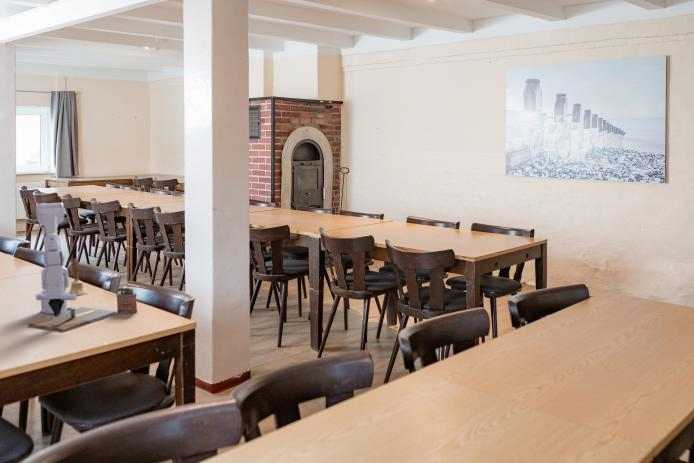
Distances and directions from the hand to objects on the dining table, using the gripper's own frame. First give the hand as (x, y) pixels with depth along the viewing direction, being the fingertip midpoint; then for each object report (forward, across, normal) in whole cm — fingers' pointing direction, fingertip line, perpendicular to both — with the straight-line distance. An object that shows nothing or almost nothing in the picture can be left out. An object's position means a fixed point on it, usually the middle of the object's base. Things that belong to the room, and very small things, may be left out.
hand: (57, 319), depth 254 cm
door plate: (+3, +4, +14) cm, 15 cm away
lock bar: (+1, +1, +2) cm, 3 cm away
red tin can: (+3, +18, +20) cm, 27 cm away
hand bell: (+3, -17, +50) cm, 53 cm away
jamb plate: (+3, -1, +2) cm, 3 cm away
